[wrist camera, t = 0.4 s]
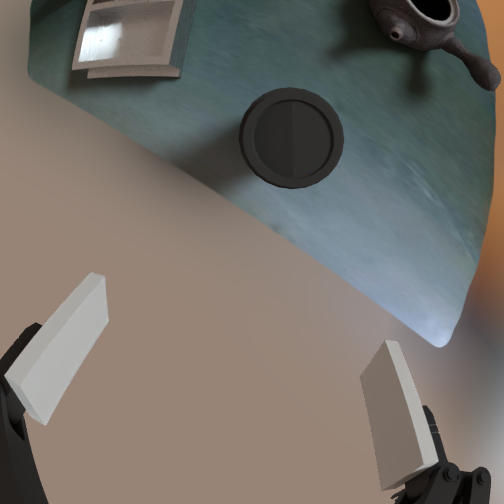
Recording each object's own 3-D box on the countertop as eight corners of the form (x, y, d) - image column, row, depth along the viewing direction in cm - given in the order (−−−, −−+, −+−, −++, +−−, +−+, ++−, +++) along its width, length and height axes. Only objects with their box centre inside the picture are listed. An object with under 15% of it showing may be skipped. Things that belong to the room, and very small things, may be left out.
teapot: (332, 17, 26) (351, -12, 17) (393, -35, 20) (421, -63, 11) (436, 118, 30) (479, 124, 21) (484, 59, 24) (526, 55, 15)
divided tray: (120, -36, 22) (105, -47, 17) (211, -45, 22) (203, -62, 17) (91, 78, 31) (70, 77, 26) (180, 77, 31) (167, 72, 26)
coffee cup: (252, 163, 35) (238, 194, 22) (249, 98, 32) (233, 85, 18) (319, 163, 35) (346, 195, 21) (318, 98, 31) (349, 87, 18)
